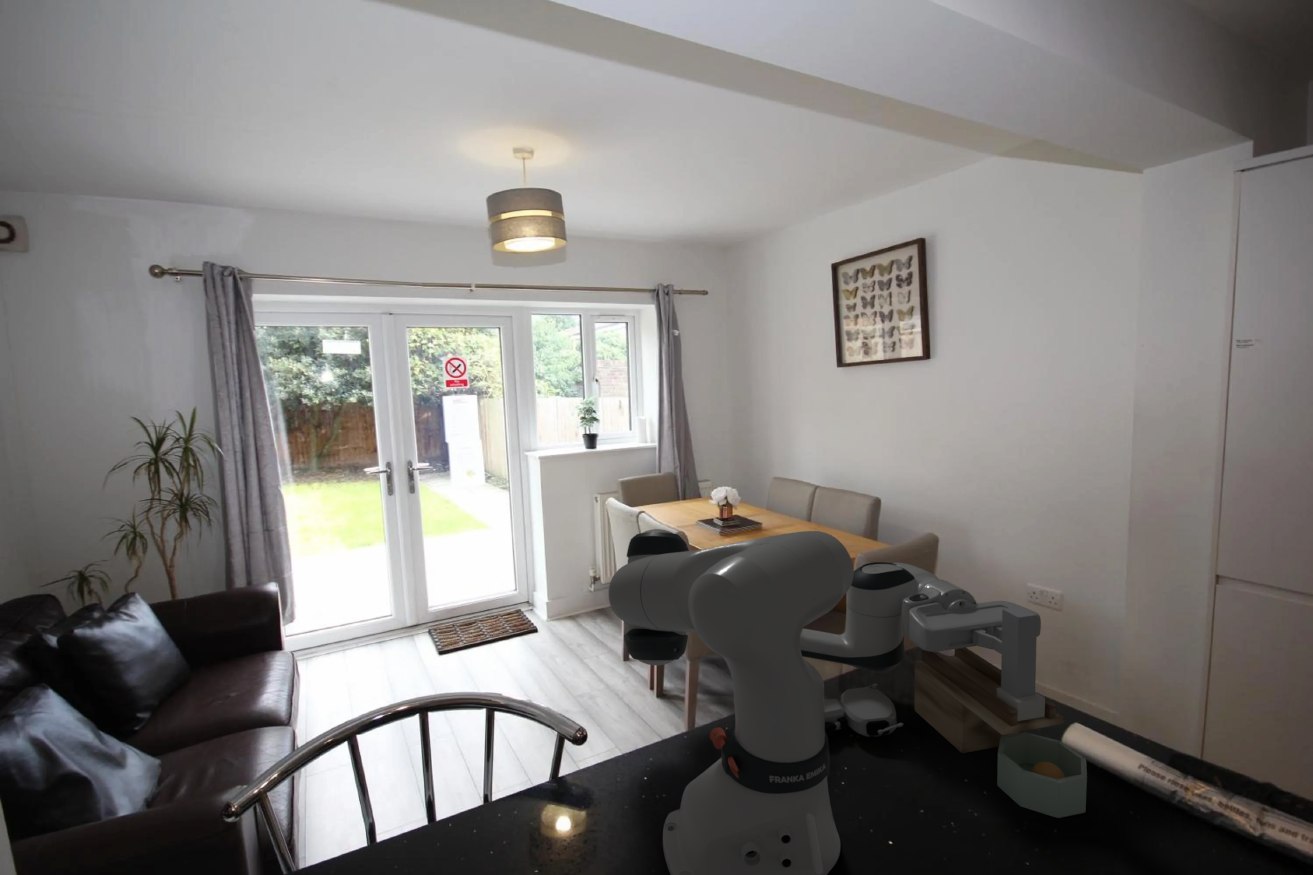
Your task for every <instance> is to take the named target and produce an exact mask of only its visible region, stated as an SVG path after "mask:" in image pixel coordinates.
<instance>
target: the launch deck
mask: <svg viewBox="0 0 1313 875" xmlns="http://www.w3.org/2000/svg"><path fill="white" fill-rule="evenodd" d="M921 650H922V654H921V657H922V658H921V660H915V661H914V712H915V713H917V714H918V716H920V717H921V718H922V719H924V720H925V722H927V723H928V724H929V725H930V726H931V727H933V728H934V729H935V731H937V732H938V733H939V734H940V735H942V736H943V738H944V739H945V740H947V741H948V742H949V743H950V744H951V745H953V747H954V748H956V749H957V750H958V751H959V752H960V753H961V754H966V753H971V752H977V751H982V750H988V749H993V748H999V743H1000V738H1001V737H1002V736H1007V735H1013V734H1018V733H1022V732H1026V731H1027V732H1028V731H1030V730H1037V729H1043V728H1048V727H1054V726H1059V725H1064V723H1065V717H1064V716H1063V715H1061V714H1060V713H1058V712H1057V711H1056V710H1057V709H1056V708H1057V705H1056V704H1054V703H1053V702H1051V701H1050V700H1048V699H1047V698H1045V717H1039V718H1034V719H1028V720H1022V721H1017V716H1018V712H1017V711H1015V710H1014V709H1013V708H1011V707H1010V706H1008V705H1007V704H1006V703H1004V702H1003V701H1001V700H1000V699H998V698H997V688H1000V687H1001V668H998V667H997V666H995V665H994V664H992V663H991V662H989V661H987V660H986V659H984V657H982V656H980V655H978V654H977V653H975V652H974V651H972V650H971V649H969V648H968V647H965V648H958V649H954V655H948V656H941V657H940V656H939V655H938V654H937V653H936V652H930V651H926V650H923V649H921Z"/></svg>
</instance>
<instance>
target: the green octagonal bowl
mask: <svg viewBox="0 0 1313 875" xmlns="http://www.w3.org/2000/svg"><path fill="white" fill-rule="evenodd" d="M997 749H998V750H997V779H996V780H997V781H996V782H997V784H996V785H997V787H998V788H999V789H1001V790H1002V791H1003V792H1004V793H1005V795H1007V796H1009V798H1011V799H1012V800H1013V801H1014V803H1016V804H1017V805H1019V806H1020V807H1022V808H1025V809H1028V810H1031V811H1035V812H1037V813H1041V814H1043V815H1047V816H1050V817H1053V818H1057V819H1061V818H1065V817H1066V818H1067V817H1070V816H1075V815H1080V814H1084V813H1087V812H1086V811H1087V809H1086V806H1087V782H1088V776H1087V775H1088V773H1087V772H1088V771H1087V758H1085V757H1084V756H1082V755H1081V754H1080V753H1078V752H1076V751H1075V750H1074V749H1073V748H1071V747H1070V746H1068V745H1067V744H1066V743H1064V742H1063V741H1061V740H1059V739H1055V738H1050V737H1047V736H1046V737H1045V736H1042V735H1038V734H1035V733H1031V732H1028V731H1027V732H1026V731H1023V732H1019V733H1018V734H1013V735H1007V736H1002V737H1001V738H1000V743H999V747H998V748H997ZM1042 761H1046V762H1050V763H1053V764H1055V765H1056V766H1058V767H1059V768H1060V769H1061V770H1062V772H1063V773H1064V775H1065V778H1061V779H1054V778H1050V777H1047V776H1043V775H1040V774H1036V773H1033V772H1032V768H1033V767H1034V765H1035V764H1037V763H1039V762H1042Z"/></svg>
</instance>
